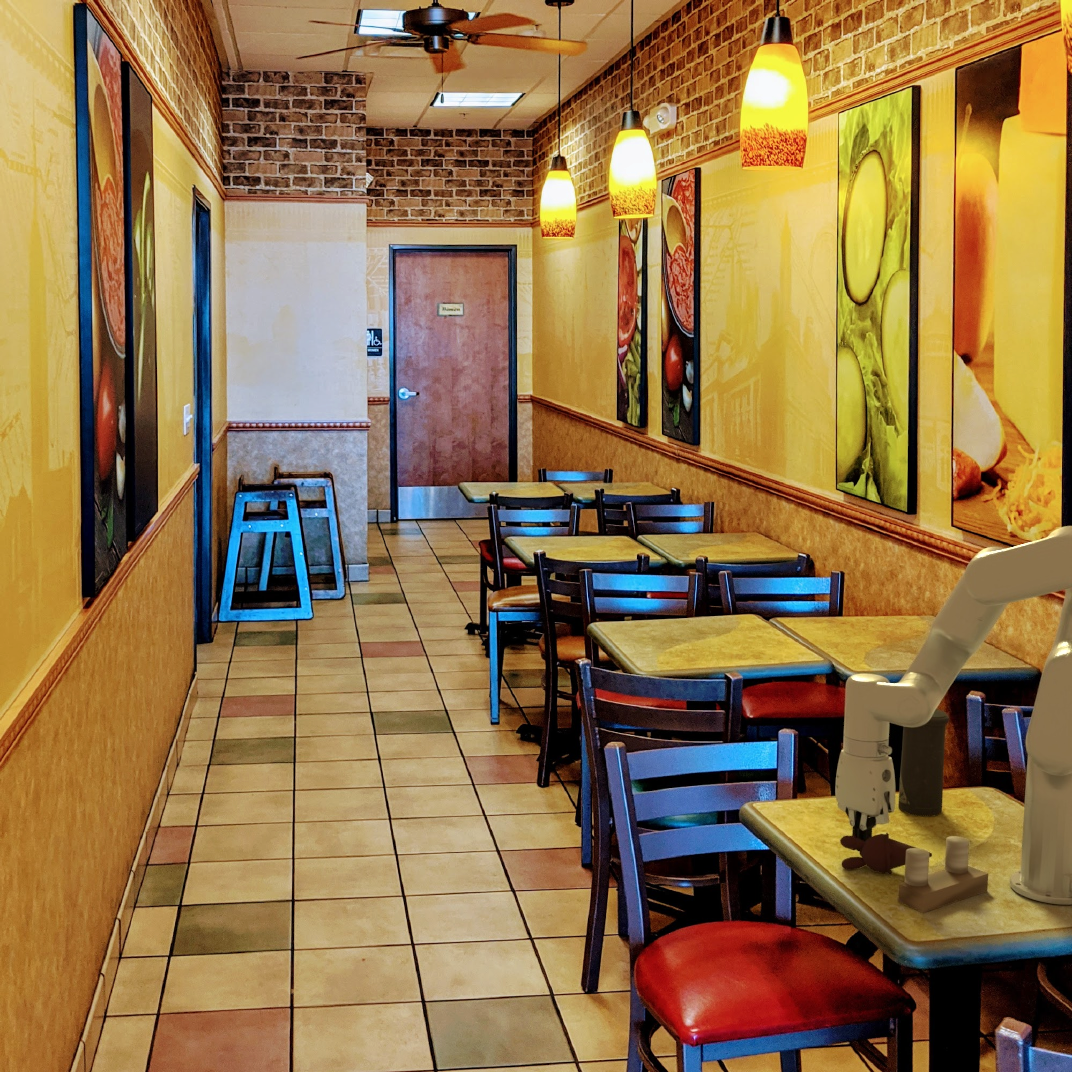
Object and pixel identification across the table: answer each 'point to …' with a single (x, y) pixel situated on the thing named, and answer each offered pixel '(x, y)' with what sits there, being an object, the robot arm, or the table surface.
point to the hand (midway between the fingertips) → (861, 848)
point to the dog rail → (940, 878)
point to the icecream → (875, 853)
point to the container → (923, 767)
